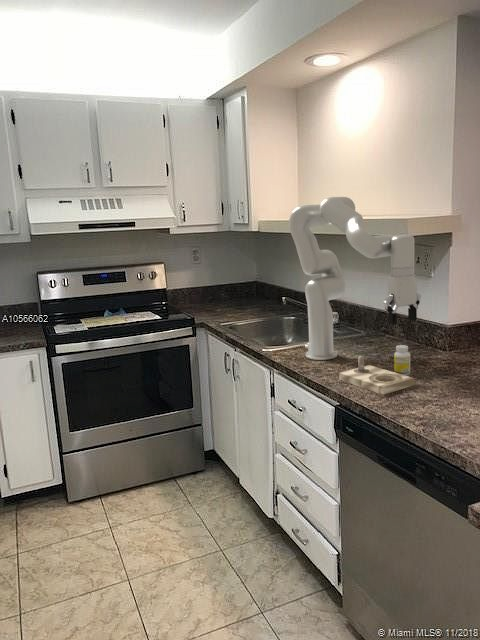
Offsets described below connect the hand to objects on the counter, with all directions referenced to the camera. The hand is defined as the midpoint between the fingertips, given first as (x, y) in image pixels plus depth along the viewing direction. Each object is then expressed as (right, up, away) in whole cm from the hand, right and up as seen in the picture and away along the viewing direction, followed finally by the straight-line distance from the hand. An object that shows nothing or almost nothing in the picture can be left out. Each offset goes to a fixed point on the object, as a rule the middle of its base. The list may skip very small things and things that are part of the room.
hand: (402, 322), depth 177 cm
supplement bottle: (+1, -18, +4) cm, 19 cm away
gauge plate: (-10, -20, -4) cm, 23 cm away
